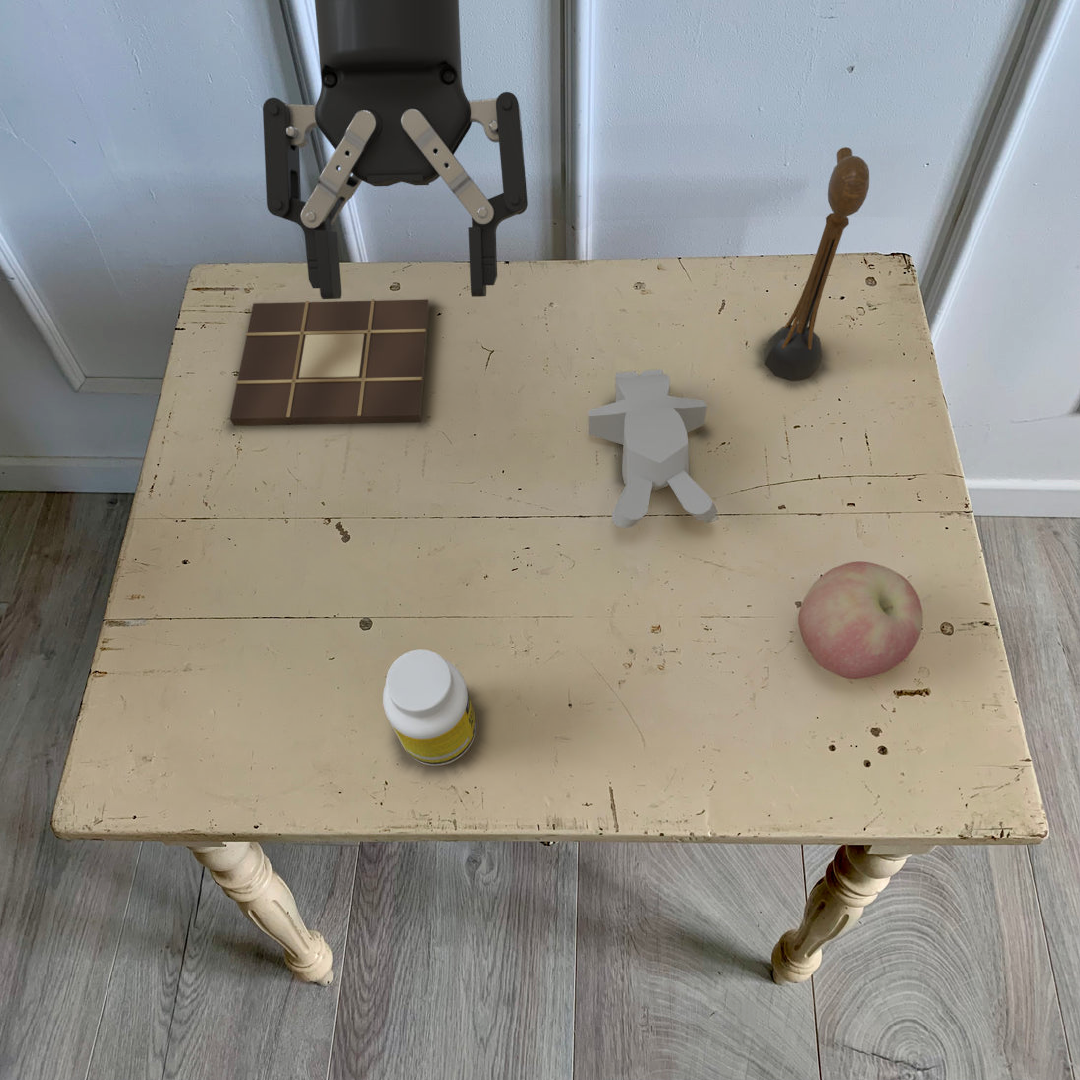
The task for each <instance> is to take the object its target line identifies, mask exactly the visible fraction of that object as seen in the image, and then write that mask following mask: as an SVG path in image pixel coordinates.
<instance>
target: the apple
mask: <svg viewBox="0 0 1080 1080" xmlns="http://www.w3.org/2000/svg"><path fill="white" fill-rule="evenodd" d="M919 597H920V596H919V595H918V594H917V591H916V589H915V588H914V587H913V585H912V584H911V582H910V581H909V580H908V579H907V578H906V577H905V576H904V575H902V574H900V573H898V572H897V571H895V570H893V569H891V568H889V567H886V566H885V565H881V564H879V563H878V564H877V563H874V562H870V561H861V560H860V561H850V562H847V563H844V564H841V565H839V566H836V567H833V568H831V569H829V570H828V571H826V572H824V574H822V575H821V576H820V577H819V578H818V579H817V580H815V582H813V584H812V585H811V587H810V588H809V589H808V591H807V593H806V595H805V596H804V598H803V600H802V603H801V605H800V608H799V612H798V619H797V624H798V628H799V632H800V636H801V639H802V641H803V643H804V645H805V647H806V649H807V650H808V652H809V653H810V655H811V656H812V657H813V659H814V661H815V662H816V663H817V664H818V665H819V666H820V667H821V668H823V669H825V670H826V671H828V672H830V673H831V674H833V675H836V676H838V677H840V678H843V679H844V678H845V679H850V680H862V679H867V678H872V677H875V676H878V675H882V674H884V673H887V672H888V671H891V670H892V669H894V668H896V667H897V666H899V665H900V664H901V663H902V662H904V661H905V660H906V659H907V658H908V657H909V655H910V654H911V653H912V651H913V649H914V648H915V647H916V645H917V643H918V641H919V638H920V635H921V632H922V628H923V624H924V623H923V622H924V619H923V618H924V616H923V615H924V614H923V609H922V604H921V600H920V598H919Z"/></svg>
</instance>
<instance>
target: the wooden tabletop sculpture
mask: <svg viewBox="0 0 1080 1080" xmlns="http://www.w3.org/2000/svg"><path fill="white" fill-rule="evenodd" d="M830 175H831V176H830V178H829V182H828V188H827V201H828V205H829V207H830V209H831V211H832V213H829V214H828V215H827V216H826V217H825V226H824V229H823V232H822V235H821V239H820V241H819V245H818V248H817V251H816V253H815V257H814V260H813V262H812V266H811V269H810V272H809V274H808V277H807V280H806V282H805V285H804V287H803V290H802V292H801V295H800V298H799V299H798V302H797V303H796V307H795V308H794V310H793V313H792V314H791V316H790V318H789V319H788V320H787V322H786V324H785V325H784V326H782V327H780V328H779V329H778V330H777V331H776V332H775V333H774V334H773V335H772V336H771V337H770V338H769V339H768V340H767V343H766V344H765V346H764V350H763V353H764V354H763V355H764V358H763V359H764V361H763V362H764V363H763V364H764V365H765V366H766V368H767V369H768V370H769V371H770V372H771V373H772V374H773V375H774V376H775V377H778V378H780V379H785V380H788V381H791V382H795V381H800V380H805V379H810V378H811V377H812V375H814V373H815V372H816V371H817V370H818V369H819V368H820V365H821V363H822V355H823V353H822V341H821V338H820V337H819V336H818V335H817V333H816V332H815V331H814V330H815V326H816V322H817V321H816V320H817V316H818V311H819V308H820V303H821V299H822V297H823V292H824V289H825V286H826V282H827V280H828V276H829V274H830V271H831V270H830V269H831V267H832V264H833V261H834V259H835V256H836V252H837V250H838V247H839V244H840V240H841V238H842V235H843V232H844V229H846V228H847V227H848V226H849V224H850V223H849V222H850V221H849V216H852V215H854V214H856V213H857V212H858V211H859V210H860V209H861V207H862V206H863V204H864V202H865V201H866V199H867V195H868V191H869V188H870V170H869V165H868V164H867V163H866V162H865V160H864V159H863V158H861V157H859V156H856V155H853V150H852V149H851V148H850V147H844V146H843V147H841V148H840V149H838V150H837V152H836V165H835V166H834V167H833V171H832V172H831V174H830Z"/></svg>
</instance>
